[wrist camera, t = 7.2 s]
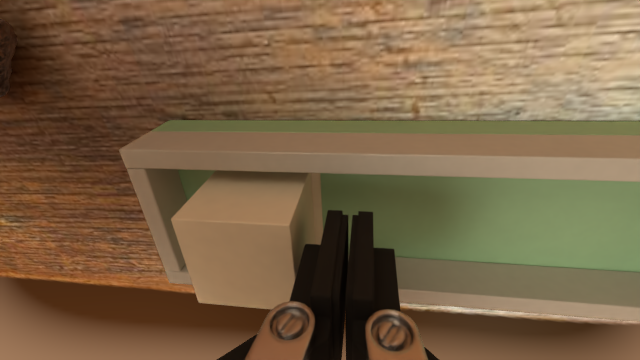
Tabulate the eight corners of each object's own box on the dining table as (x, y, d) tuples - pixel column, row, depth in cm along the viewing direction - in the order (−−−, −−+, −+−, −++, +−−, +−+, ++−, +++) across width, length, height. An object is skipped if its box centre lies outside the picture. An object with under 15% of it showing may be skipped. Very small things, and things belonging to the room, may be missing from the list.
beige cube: (236, 236, 16) (198, 303, 12) (220, 164, 14) (169, 218, 10) (315, 241, 15) (299, 312, 12) (310, 167, 13) (289, 225, 10)
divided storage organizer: (202, 236, 18) (169, 283, 15) (169, 119, 15) (117, 149, 12) (633, 262, 15) (700, 327, 12) (716, 121, 12) (837, 162, 9)
